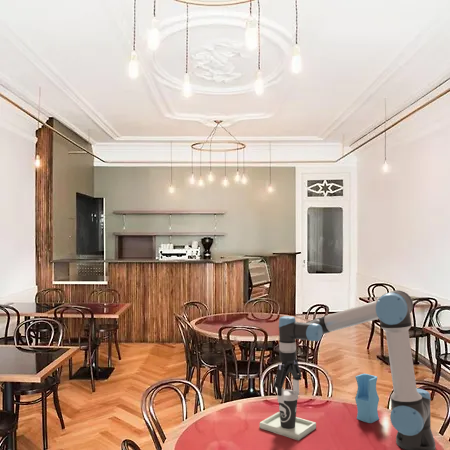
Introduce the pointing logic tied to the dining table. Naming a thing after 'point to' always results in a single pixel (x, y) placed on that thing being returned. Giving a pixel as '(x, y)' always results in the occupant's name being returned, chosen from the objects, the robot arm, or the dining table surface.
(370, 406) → the vase
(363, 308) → the robot arm
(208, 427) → the dining table surface
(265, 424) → the tray
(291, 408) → the coffee cup
